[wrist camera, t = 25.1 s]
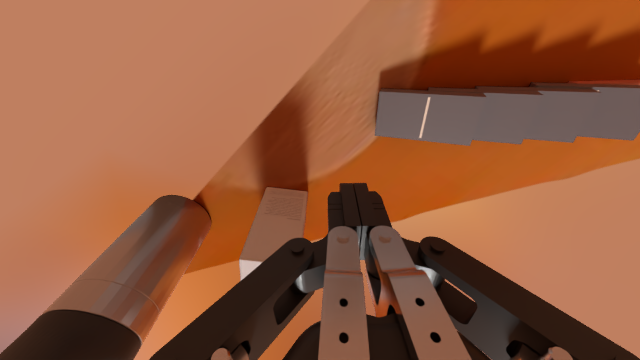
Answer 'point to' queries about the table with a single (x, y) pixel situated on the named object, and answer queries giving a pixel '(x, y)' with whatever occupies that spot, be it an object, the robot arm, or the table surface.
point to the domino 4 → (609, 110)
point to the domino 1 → (429, 115)
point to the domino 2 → (503, 113)
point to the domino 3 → (558, 112)
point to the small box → (273, 226)
